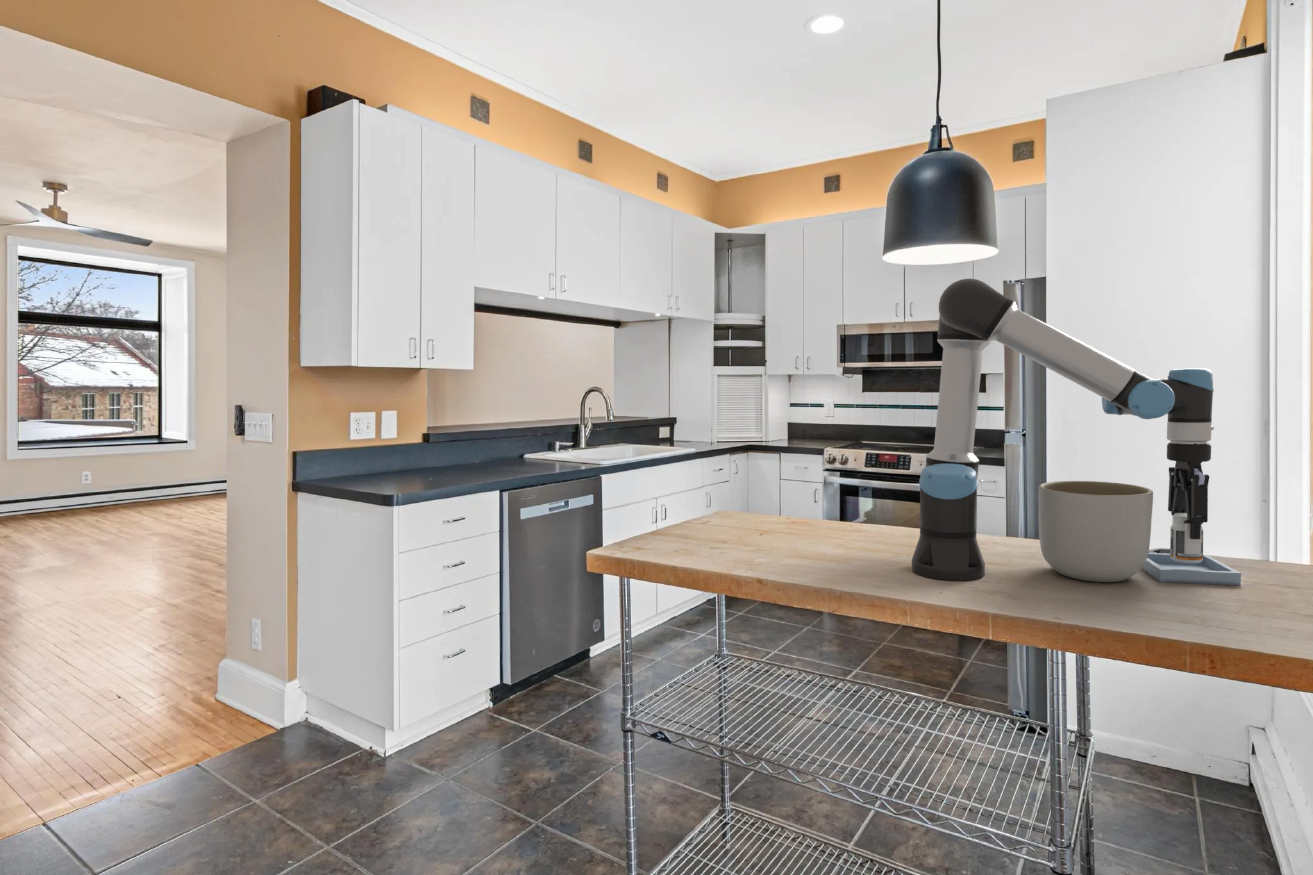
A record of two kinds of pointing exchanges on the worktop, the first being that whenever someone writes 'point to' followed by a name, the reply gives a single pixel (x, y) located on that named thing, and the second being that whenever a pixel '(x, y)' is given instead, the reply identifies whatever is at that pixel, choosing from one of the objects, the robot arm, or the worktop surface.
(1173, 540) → the pill bottle
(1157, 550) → the ring
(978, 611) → the worktop surface
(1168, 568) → the tray
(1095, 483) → the planter
